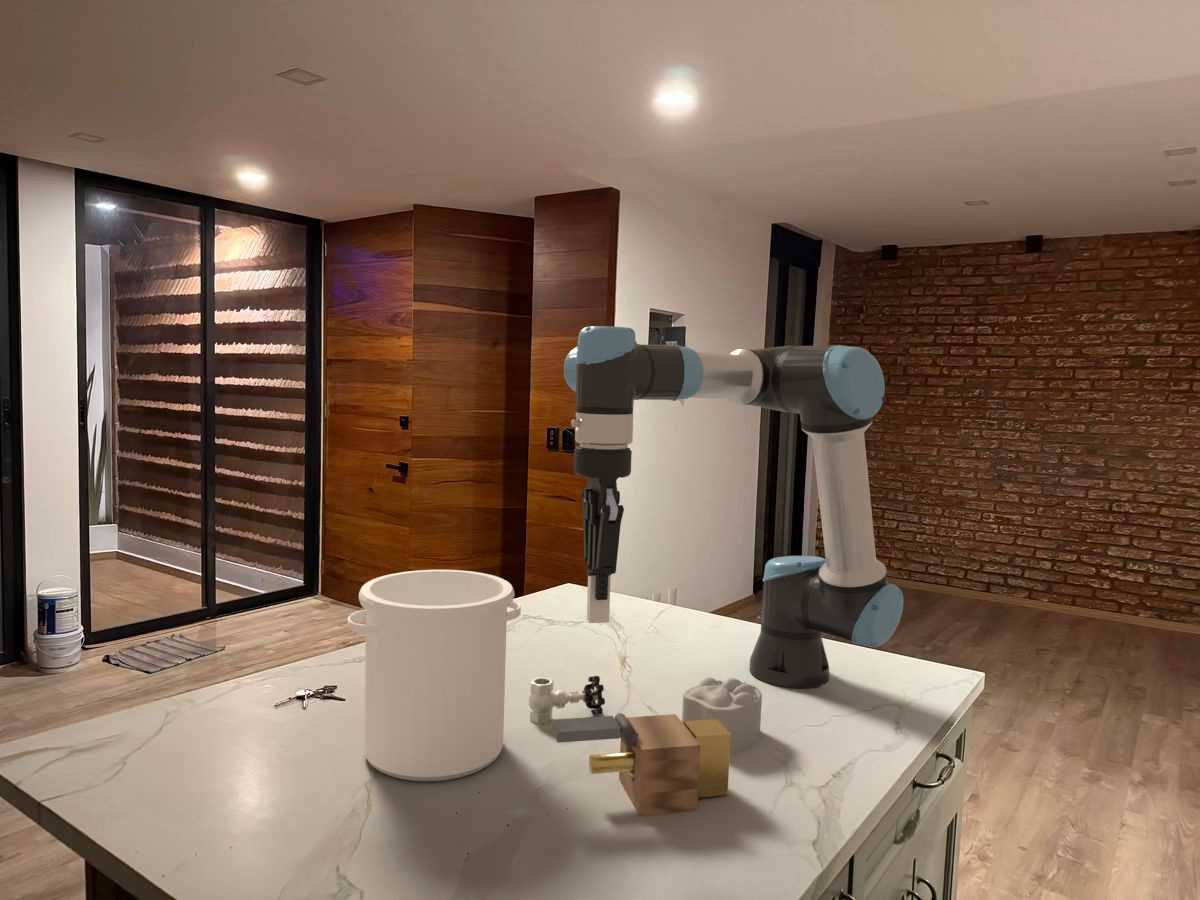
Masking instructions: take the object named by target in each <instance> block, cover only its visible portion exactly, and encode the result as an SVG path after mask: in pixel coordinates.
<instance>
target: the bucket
mask: <svg viewBox="0 0 1200 900" xmlns="http://www.w3.org/2000/svg"><path fill="white" fill-rule="evenodd" d="M512 585H513V584H511V583H510V582H509V581H507V580H505V579H504V578H502V577H499V576H497V575H494V574H488V573H483V572H477V571H470V570H461V569H459V570H458V569H425V570H424V569H421V570H420V569H419V570H412V571H411V570H409V571H403V572H402V571H401V572H397V573H396V572H395V573H391V574H387V575H382V576H379V577H376V578H373V579H371V580H369V581H366V582H365V583H364V584H363V585H362V586H361V588H360V589H359V593H358V601H359V603H360V605H361V607H362V608H364V609H361V610H358V611H357V610H356V611H355V612H352V613H350V614H349V615H348V617H347V626H346V627H347V628H348V629H349V630H350V631H352V632H354V633H355V634H360V635H364V636H365V649H364V652H365V654H364V655H365V657H364V658H365V660H364V725H363V726H364V727H363V728H364V729H363V731H364V732H363V733H364V734H363V741H364V742H363V751H364V755H365V757H366V760H367V762H368V763H369V764H370V766H371V767H373V769H375V770H377V771H379V772H380V773H382V774H384V775H387V776H388V777H392V778H395V779H399V780H404V781H411V782H425V783H426V782H429V783H431V782H442V781H449V780H456V779H460V778H464V777H467V776H469V775H473V774H474V773H477V772H479V771H481V770H483V769H485V768H487V767H488V766H489V765H491V764H493V763H494V761H496V760H497V758H498V757H499V755H500V754H501V751H502V748H503V746H504V729H505V728H504V726H505V725H504V724H505V694H506V691H505V689H506V687H505V686H506V658H507V657H506V656H507V654H506V652H507V624H508V623H507V622H508V621H509V622H510V621H512V620H515V619H518V618H519V617H520V616H521V613H522V608H521V607H522V606H521V604H520V603H519V602H517V601H515V600H514V598H515V590H514V587H513V586H512ZM509 608H510V609H512V610H510V611H508V609H509ZM364 619H365V624H362V623H356V622H358V621H360V620H364Z"/></svg>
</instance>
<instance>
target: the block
mask: <svg viewBox="0 0 1200 900" xmlns="http://www.w3.org/2000/svg"><path fill="white" fill-rule="evenodd" d="M614 719H615V720H616V722H617V724H618V725H619V727H620V738H619V739H620V747H619V748H620V749H619V750H620V751H619V753H624V752H634V753H635V770H634V771H624V772H618V780H619V781H620V783H621V785H622V787H623V790H625V792H626V795H627V796H628V798H629V800H630V801H631V803H632V805H633V807H634V809H635V811H636V813H637V814H638V816H639V817H643V816H653V815H661V814H662V815H663V814H664V815H665V814H672V813H683V812H684V813H685V812H693V811H694V812H696V811H698V803H699V797H698V786H699V767H700V748H701V745H700V744H699V742H698V741H697V740H696V739H695V738H694V736H693V735H692V734H691V733H690V731H689V730H688V729H687V728H686V726H685V725H684V724H683V723H682V719H680V718H679V717H678V716H677V714H675V713H674V714H673V713H672V714H671V713H670V714H661V715H660V714H659V715H645V716H643V715H642V716H629V717H626V715H625V714H624V713H622V712H621V713H620V712H619V713H617V714H616V715H615V716H614Z"/></svg>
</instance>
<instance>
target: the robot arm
mask: <svg viewBox="0 0 1200 900" xmlns="http://www.w3.org/2000/svg"><path fill="white" fill-rule="evenodd" d="M563 377H564V380H565V382H566V384H567V386H568V387H569V388H570V389H571V390H572V391H574V392H575V419H572V420H571V421H570V423H571V427H572V428H575V431H574V432H575V433H574V435H575V436H574V441H575V442H576V443H578V444H579V445H577V446H575V448H574V452H573V453H574V455H573V459H574V460H573V472H574V474H575V475H577V476H580V477H584V478H587V484H586V488H585V487H584V490H583V491H581V494H580V496H581V502H582V504H581V505H582V518H583V519H582V522H583V524H582V525H583V555H584V556H583V562H584V563H585V564H587V565H586V568H587V570H586V575H587V597H586V598H587V599H586V600H587V602H586V606H587V607H586V621H587V622H588V623H589V624H601V623H610V610H611V609H610V603H611V577H612V575H614V574H616V572H617V561H618V552H619V546H620V545H619V544H620V536H621V535H620V533H621V526H622V520H623V519H622V518H623V515H624V512H625V508H624V505H623V504H620V501H621V500H620V499H621V495H620V490H618V484H617V483H618V482H617V480H618V479H619V478H620V479H621V478H626V477H627V478H628V477H629V476H630V475H631V473H632V456H633V454H632V452H633V451H632V450H631V448H630V447H628V446H629V445H631V444H632V443H633V440H634V439H633V437H634V436H633V435H634V434H633V433H634V402H635V401H637V400H638V401H639V400H643V401H644V400H645V401H648V400H649V401H650V400H651V401H658V400H659V401H673V402H676V401H677V400H687V399H690V398H694V399H695V398H699V399H727V400H728V401H729V402H731V403H732V404H735V405H739V406H740V405H741V406H742V405H743V406H744V405H745V406H754V407H759V408H763V409H764V408H765V409H767V410H773V411H779V412H784V413H793V414H799V417H800V425H801V431H803V432H804V433H805V434H806V435H808V436H809V437H810V438H811V440H812V449H813V451H812V452H813V459H814V467H815V476H816V486H817V491H818V492H817V493H818V501H819V502H818V504H819V510H820V511H819V512H820V519H821V520H820V521H821V527H822V528H821V530H822V537H823V547H824V556H825V558H824V557H823V556H822V557H821V556H815V555H814V556H813V555H788V556H787V555H785V556H779V557H773V558H771V559H769V560H767V562H766V563H765V565H764V575H763V579H762V597H761V599H762V601H761V621H760V622H761V623H760V624H761V625H760V632H759V636H758V638H757V640H756V643H755V645H754V648H753V650H752V653H751V655H750V659H749V673H750V674H751V675H752V676H753V677H755V678H757V679H758V680H760V681H762V682H765V683H767V684H772V685H775V686H779V687H785V688H796V689H804V688H805V689H808V688H816V687H820V686H823V685H825V684H827V682H828V681H829V679H830V666H829V661H828V657H827V654H826V650H825V645H824V642H823V633H824V634H827V635H829V636H833V637H835V638H836V637H837V638H839V639H843V640H846V641H850V642H852V643H853V644H855V645H861V646H866V647H870V648H876V647H880V646H882V645H883V644H885V643H887V641H888V640H889V639H890V638H892V636H893V635H894V633H895V631H896V630H897V628H898V625H899V624H900V622H901V618H902V616H903V615H902V614H903V610H904V595H903V592H902V590H901V588H899V586H897V585H895V584H893V583H891V582H890V583H889V582H888V576H887V568H886V565H884V563H883V562H881V561H880V560H879V559H877V556H876V555H877V553H876V546H875V545H876V543H875V542H876V541H875V533H874V524H873V523H874V522H873V513H872V511H873V510H872V501H871V491H870V481H869V471H868V470H869V469H868V460H867V451H866V449H867V448H866V438H865V432H866V431H867V430H868V429H869V428H870V426H871V425H872V424H873V417H874V416H875V415H877V413H878V412H879V411H880V409H881V407H882V406H883V402H884V401H883V398H884V397H885V391H886V390H885V386H886V384H885V378H884V373H883V370H882V368H881V365H880V363H879V361H878V360H877V359H876V357H875V356H874V355H873V354H871V353H870V351H869V350H867V349H865V348H862V347H860V346H848V345H842V344H838V345H836V344H834V345H833V344H832V345H829V344H827V345H784V346H783V345H782V346H776V347H775V346H774V347H766V348H765V347H764V348H757V349H755V348H754V349H753V348H752V349H749V348H748V349H746V348H742V349H741V348H739V349H736V350H733V351H732V352H730V353H721V352H720V353H719V352H706V351H696V350H694V349H693V348H691V347H688V346H681V345H678V344H671V345H670V344H639V343H638V342H637V341H636V332H635V330H634V329H633V328H631V327H625V326H606V325H602V326H601V325H599V326H598V325H594V326H593V325H592V326H585V327H583V328H582V329H581V330H580V332H579V334H578V338H577V345H576V347H574V348H573V349H572V350H570V351H569V352H568V354H567V355H566V358H565V359H564V364H563Z"/></svg>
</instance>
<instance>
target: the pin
mask: <svg viewBox="0 0 1200 900" xmlns="http://www.w3.org/2000/svg"><path fill="white" fill-rule="evenodd" d="M683 724H684V725H685V726H686V728H687V729H688V730H689V731H690V733H691V734H692V735H693V736H694V738H695V739H696V740H697V741H698V742H699V744H700V745H701V748H700V767H699V786H698V798H703V797H715V796H727V795H728V793H729V789H728V788H729V776H730V775H729V773H730V757H731V755H730V740H731V734H730V733H729V732H728V730H727V729H726V728H725V727H724V726H723V725H722V724H721V723H720V722H719V721H718V720H717V719H709V720H695V721H684V723H683ZM588 758H589V759H588V767H589V772H590V775H597V774H599V775H600V774H609V773H612V774H613V773H619V772H624V771H634V770H635V753H634V752H624V753H620V752H616V753H615V752H613V753H600V754H599V753H598V754H590V755H589V757H588Z"/></svg>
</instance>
